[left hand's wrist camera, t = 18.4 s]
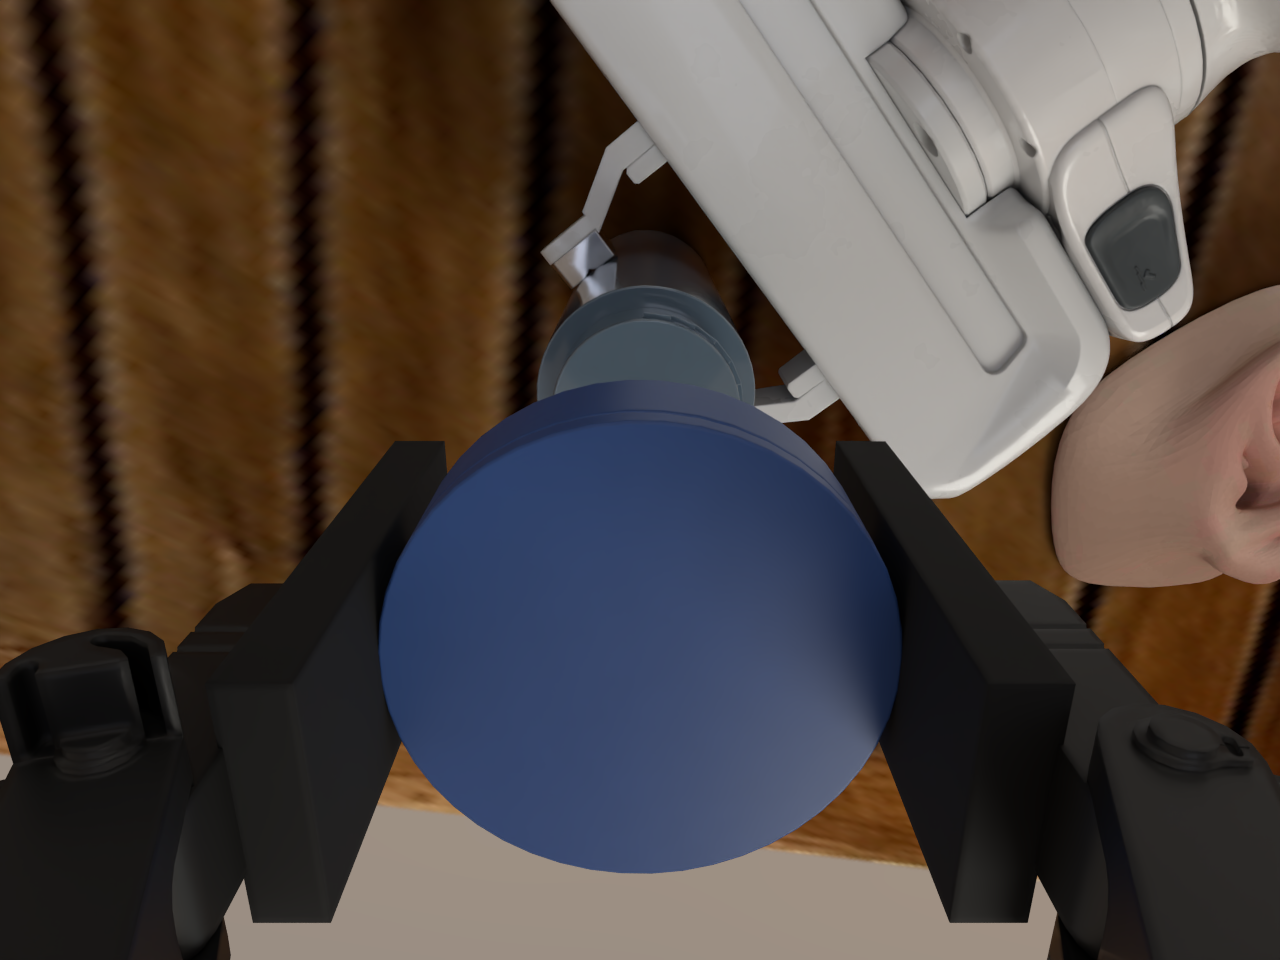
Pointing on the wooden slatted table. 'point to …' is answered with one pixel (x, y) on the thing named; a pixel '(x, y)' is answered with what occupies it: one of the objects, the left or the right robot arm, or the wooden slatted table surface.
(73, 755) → the left robot arm
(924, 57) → the right robot arm
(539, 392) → the jar
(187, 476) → the wooden slatted table surface
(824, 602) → the lid
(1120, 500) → the anatomical model
